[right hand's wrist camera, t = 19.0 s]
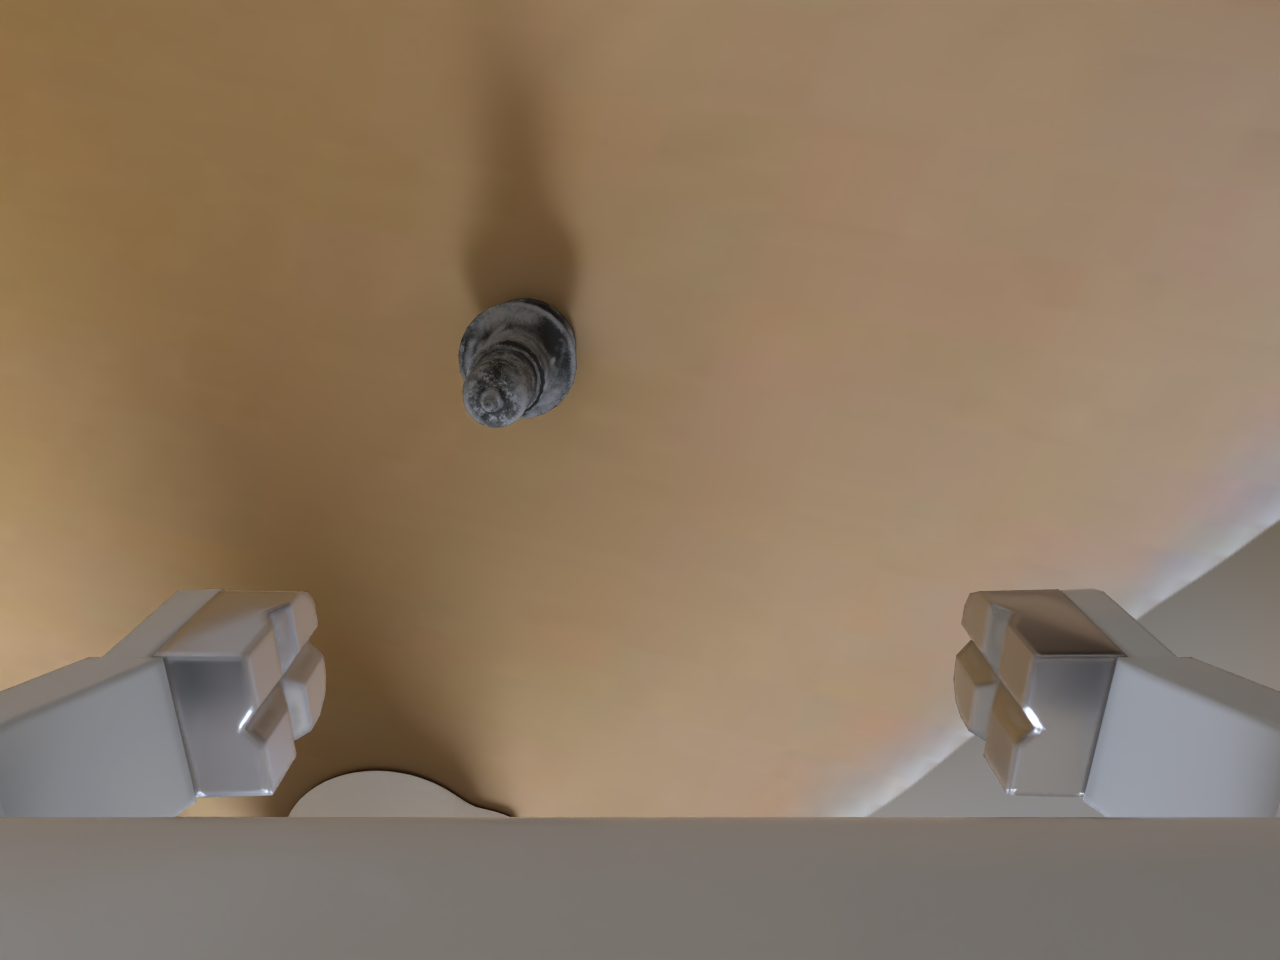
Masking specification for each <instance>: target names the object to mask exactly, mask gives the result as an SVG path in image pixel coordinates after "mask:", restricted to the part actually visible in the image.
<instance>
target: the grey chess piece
mask: <svg viewBox="0 0 1280 960" xmlns="http://www.w3.org/2000/svg"><path fill="white" fill-rule="evenodd" d="M459 365H460V372H461V374H462V377H463V380H464V386H463V391H462V392H463V402H464V405H465V408H466V410H467V411H468V413H469V414H470V416H471V417H472V418H473V419H474V420H476V421H477V422H478V423H480V424H482V425H484V426H488V427H492V428H498V427H504V426H507V425H510V424H512V423H514V422H515V421H517V420H518V419H519V418H532V417H535V416H539V415H542V414H545V413H546V412H548V411H550V410H551V409H553V408H555V407H556V406H557V405H558V404H559V403H560V402H561V401H562V400H563V399H564V398H565V397H566V396H567V394H568V392H569V390H570V388H571V386H572V384H573V382H574V378H575V373H576V369H577V364H576V346H575V338H574V335H573V332H572V329H571V327H570V325H569V324H568V322H567V321H566V319H565V318H564V316H562V315H561V314H560V313H559V312H558V311H557V310H556V309H555V308H553V307H552V306H550V305H548V304H546V303H544V302H542V301H538V300H534V299H515V300H512V301H508V302H505V303H502V304H499V305H496V306H492V307H490V308H488V309H487V310H485V311H484V312H482V313H481V314H479V315H478V316H477V317H476V318H475V319H474V320H473V321H472V322H471V324H470V325H469V326H468V327H467V329H466V331H465V333H464V336H463V338H462V340H461V344H460V350H459Z"/></svg>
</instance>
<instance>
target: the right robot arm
mask: <svg viewBox="0 0 1280 960" xmlns="http://www.w3.org/2000/svg"><path fill="white" fill-rule="evenodd" d="M318 624H319V623H318V618H317V613H316V608H315V603H314V599H313V598H312V597H311V596H310V595H309V594H308V592H307V591H266V590H224V589H200V590H180V591H177V592H176V593H175V594H174V595H172V596H171V597H170V598H169V599H168V600H167V601H166V602H164V603H163V604H162V605H161V606H160V607H159V608H158V609H156V610H155V611H154V612H153V613H152V614H151V615H150V616H149V617H147V618H146V619H145V620H144V621H143V622H142V623H141V624H139V625H138V626H137V627H136V628H135V629H134V630H133V631H131V632H130V633H129V634H128V635H127V636H126V637H125V638H123V639H122V640H121V641H120V642H119V643H118V644H117V645H115V646H114V647H113V648H112V649H111V650H110V651H109V652H108V653H106V654H105V655H104V656H103V657H88V658H85V659H83V660H80V661H78V662H75V663H73V664H70V665H67V666H65V667H62V668H60V669H57V670H55V671H52V672H49V673H47V674H44V675H42V676H39V677H36V678H34V679H31V680H29V681H26V682H24V683H21V684H18V685H16V686H13V687H11V688H8V689H6V690H3V691H0V960H1280V692H1279V691H1277V690H1274V689H1272V688H1269V687H1266V686H1264V685H1261V684H1259V683H1256V682H1254V681H1251V680H1249V679H1246V678H1243V677H1241V676H1238V675H1236V674H1233V673H1231V672H1228V671H1225V670H1223V669H1220V668H1218V667H1215V666H1212V665H1210V664H1207V663H1205V662H1202V661H1200V660H1197V659H1195V658H1192V657H1177V656H1176V655H1175V654H1174V653H1173V652H1171V651H1170V650H1169V649H1168V648H1167V647H1166V646H1165V645H1163V644H1162V643H1161V642H1160V641H1159V640H1158V639H1157V638H1156V637H1154V636H1153V635H1152V634H1151V633H1150V632H1149V631H1148V630H1146V629H1145V628H1144V627H1143V626H1142V625H1141V624H1140V623H1138V622H1137V621H1136V620H1135V619H1134V618H1133V617H1132V616H1131V615H1129V614H1128V613H1127V612H1126V611H1125V610H1124V609H1123V608H1121V607H1120V606H1119V605H1118V604H1117V603H1116V602H1115V601H1114V600H1112V599H1111V598H1110V597H1109V596H1108V595H1107V594H1106V593H1104V592H1103V591H1099V590H1095V589H1074V590H1059V589H1054V590H1012V591H979V592H974V593H970V594H969V597H968V599H967V601H966V603H965V606H964V611H963V617H962V623H961V624H962V626H963V627H964V629H965V630H966V632H967V633H968V635H969V637H970V638H971V640H970V641H969V643H968V644H967V645H966V646H965V647H964V648H963V649H962V650H961V651H960V652H959V653H958V654H957V655H956V662H955V671H954V689H955V700H956V704H957V707H958V710H959V713H960V716H961V718H962V720H963V722H964V723H965V725H966V727H967V729H968V730H969V731H970V732H972V733H973V734H975V735H977V736H978V737H980V738H981V739H983V740H985V741H986V744H985V750H984V757H985V759H986V761H987V762H988V764H989V766H990V767H991V769H992V770H993V772H994V774H995V775H996V777H997V779H998V780H999V782H1000V784H1001V785H1002V787H1003V788H1004V790H1005V792H1006V794H1007V795H1012V796H1049V797H1084V799H1083V801H1084V802H1086V803H1087V804H1089V805H1090V806H1091V807H1093V808H1094V809H1095V810H1097V811H1098V812H1099V813H1101V814H1102V815H1104V816H1105V817H509V816H506V815H504V814H501V813H498V812H494V811H491V810H487V809H482V808H478V807H475V806H473V805H471V804H469V803H467V802H465V801H463V800H462V799H460V798H459V797H457V796H456V795H454V794H453V793H451V792H450V791H448V790H446V789H445V788H443V787H441V786H439V785H437V784H435V783H433V782H430V781H428V780H425V779H422V778H419V777H416V776H412V775H408V774H404V773H398V772H390V771H362V772H355V773H350V774H345V775H341V776H338V777H335V778H332V779H330V780H328V781H325V782H323V783H321V784H320V785H318V786H316V787H315V788H313V789H312V790H310V791H309V792H308V793H306V794H305V795H304V796H303V797H302V798H301V799H300V800H299V801H298V802H297V804H296V805H295V806H294V808H293V809H292V811H291V812H290V814H289V816H288V817H175V816H177V815H178V814H179V813H181V812H182V811H184V810H185V809H186V808H188V807H189V806H190V805H192V804H193V803H195V802H196V797H229V796H265V795H273V794H274V792H275V790H276V789H277V787H278V785H279V784H280V782H281V781H282V779H283V777H284V776H285V774H286V772H287V771H288V769H289V767H290V766H291V764H292V762H293V761H294V759H295V757H296V750H295V744H294V741H295V740H297V739H299V738H300V737H302V736H303V735H305V734H307V733H308V732H310V731H311V730H312V729H313V727H314V725H315V723H316V721H317V720H318V718H319V716H320V714H321V710H322V706H323V702H324V698H325V693H326V668H325V661H324V655H323V654H322V653H321V652H320V651H319V650H318V649H317V648H316V647H315V646H314V645H313V644H312V643H311V641H310V640H309V638H310V637H311V635H312V633H313V632H314V630H315V629H316V627H317V626H318Z"/></svg>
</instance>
